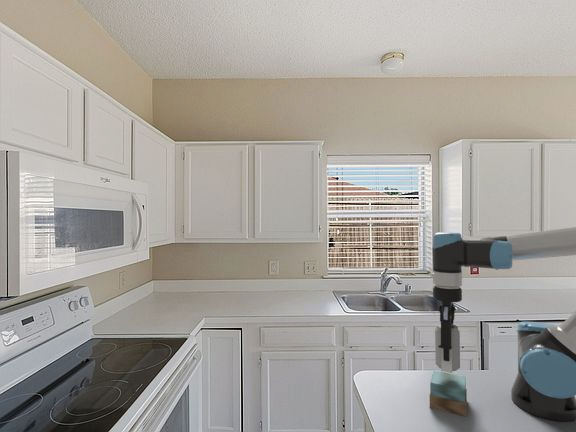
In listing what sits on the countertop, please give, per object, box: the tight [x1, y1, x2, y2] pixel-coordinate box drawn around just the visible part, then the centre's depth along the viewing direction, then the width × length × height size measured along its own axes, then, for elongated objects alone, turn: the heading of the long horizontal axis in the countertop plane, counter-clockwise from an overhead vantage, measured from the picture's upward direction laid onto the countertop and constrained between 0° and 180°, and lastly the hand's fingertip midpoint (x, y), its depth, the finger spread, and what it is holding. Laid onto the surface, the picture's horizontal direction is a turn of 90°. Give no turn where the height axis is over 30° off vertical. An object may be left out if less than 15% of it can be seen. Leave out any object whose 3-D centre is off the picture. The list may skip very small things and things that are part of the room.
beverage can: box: [434, 322, 461, 372], centre depth 95 cm, size 6×6×12 cm
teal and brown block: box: [429, 369, 468, 418], centre depth 95 cm, size 9×9×7 cm
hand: (447, 366), depth 95 cm, fingers closed on beverage can, 6 cm apart
